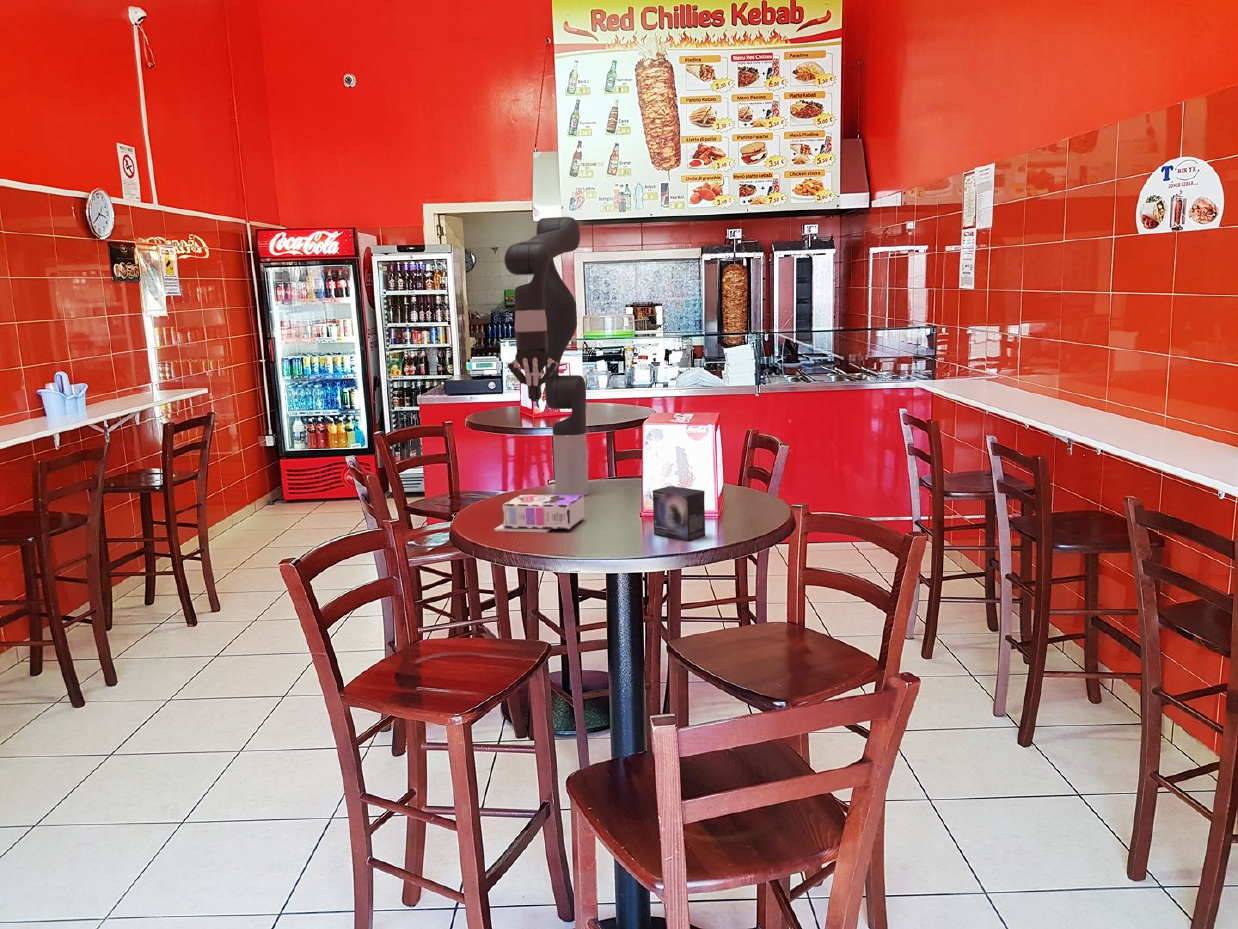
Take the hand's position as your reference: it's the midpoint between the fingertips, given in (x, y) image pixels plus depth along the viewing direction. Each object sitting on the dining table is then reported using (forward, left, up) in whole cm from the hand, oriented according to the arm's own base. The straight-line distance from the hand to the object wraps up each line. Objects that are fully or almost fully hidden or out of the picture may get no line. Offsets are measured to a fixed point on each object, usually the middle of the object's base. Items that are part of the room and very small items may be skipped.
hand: (535, 401), depth 234 cm
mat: (+7, +1, -29) cm, 30 cm away
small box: (+14, +38, -29) cm, 50 cm away
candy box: (+7, +12, -26) cm, 29 cm away
